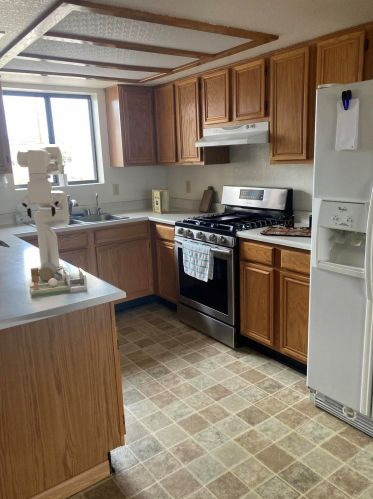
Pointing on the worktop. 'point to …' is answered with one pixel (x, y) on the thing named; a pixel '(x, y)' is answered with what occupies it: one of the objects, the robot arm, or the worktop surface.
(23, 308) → the worktop surface
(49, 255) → the robot arm
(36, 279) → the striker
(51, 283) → the ball
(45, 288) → the field
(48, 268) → the ceramic mug
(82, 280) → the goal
